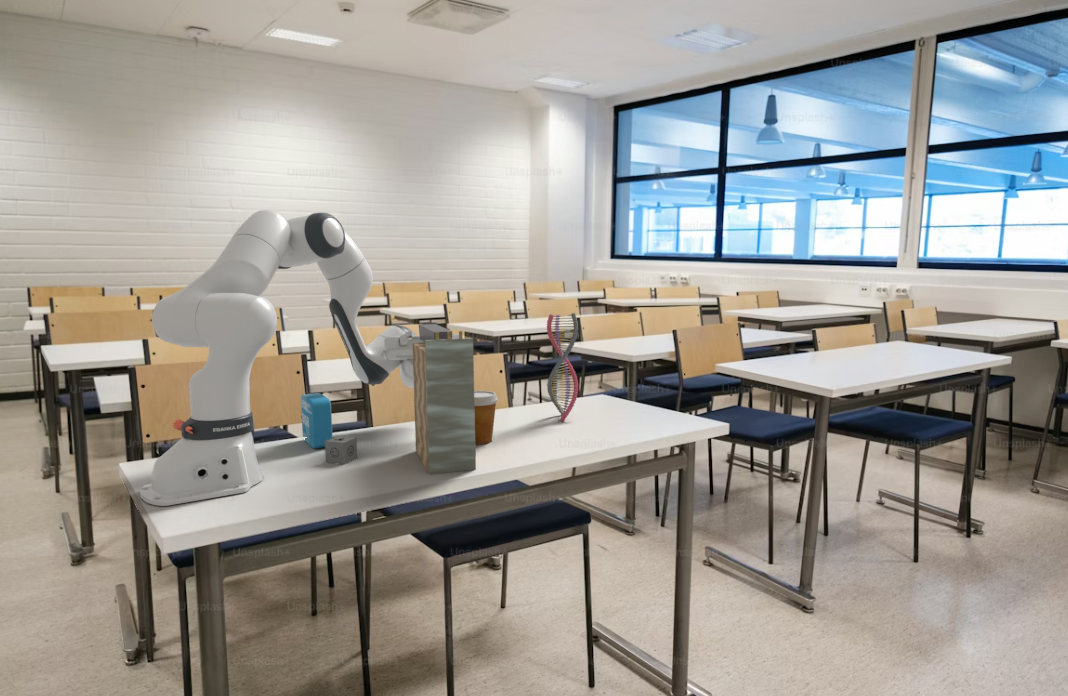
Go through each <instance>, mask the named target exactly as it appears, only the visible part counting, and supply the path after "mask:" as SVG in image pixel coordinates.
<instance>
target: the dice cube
mask: <svg viewBox="0 0 1068 696" xmlns="http://www.w3.org/2000/svg"><path fill="white" fill-rule="evenodd" d="M357 439H358V438H357V437H353V436H343V435H342V436H341V435H337V436H334V437H333V438H331V439H329V440H326V441H325V447H324V450H325V451H324V452H325V453H324V455H325V463H326V462H328V464H335V463H339V464H338V465H346V464H345V463H347V462H349V461H351V462H353V461H355V460H357V459H358V443H357V441H358V440H357ZM356 458H357V459H356ZM354 459H355V460H354ZM352 460H353V461H352ZM349 463H350V462H349ZM347 464H348V463H347Z"/></svg>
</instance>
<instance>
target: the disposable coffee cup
mask: <svg viewBox="0 0 1068 696" xmlns="http://www.w3.org/2000/svg"><path fill="white" fill-rule="evenodd" d="M498 399H499V398H498V397H497V394H496V392H494V391H489V390H488V391H487V390H474V407H475V445H484V444H489V443H491V442H492V441H493V434H494V425H495V423H494V422H495V416H496V415H495V414H496V406H497V403H498Z"/></svg>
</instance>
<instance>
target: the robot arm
mask: <svg viewBox="0 0 1068 696" xmlns="http://www.w3.org/2000/svg"><path fill="white" fill-rule="evenodd" d="M314 263H315V264H317V265H318V268H319V270H320V271H321V274H322V275H323V276H324V278H325V279H326V281H327V283H328V286H329V291H330V301H329V304H328V306H329V307H328V309H329V311H330V314H331V318H332V320H333V322H334V324H335V327H336V328H337V331H338V334H339V336H340V338H341V341H342V342H343V344H344V348H345V349H346V352H347V353H348V356H349V359H350V363H351V364H350V365H351V367H352V370H353V373H354V374H355V375H356V377H357V378H358V379H359V380H360V381H361V382H362V383H363V384H365V385H371V386H372V385H373V386H374V385H381V384H383V382H385V380H386V379H388V377H389V376H390V374H391V373H392V372H394V371H395V370H396V369H397V368H399V371H400V378H401V379H400V380H401V381H402V383H403V385H404V386H406V387H408V388H410V389H414V375H413V344H412V343H420V342H424V341H423V340H421V339H420V334H419V335H417V334H416V333H415V331H413V330H411V328H409V327H406V326H404V325H399V324H391V325H389V326H388V327H387V328H385V330H384V331H382V332H380V334H379V335H378V336H377V337H376V338H375V339H373V340H372V341H371V342H370V343H369V344H367V345H366V344H365V341H364V339H363V337H362V334H361V332H360V329H359V327H358V325H357V318H358V314H359V311H360V309H361V307H362V305H363V303H364V301H365V299H366V298H367V297H368V295H369V293H370V291H371V289H372V287H373V281H374V275H373V272H372V268H371V266H370V264H369V262H368V261H367V259H366V257H365V255H364V253H362V251H361V250H360V248H359V246H358V245H357V244H356V242H354V240H353V239H352V238H351V236H350V235H349V234H348V233H347V231H345V229H344V227H343V225H342V224H341V222H340V221H339V219H337V218H336V217H335V216H333V214H330V213H329V212H314V213H311V214H310V215H303V216H299V217H295V218H289V219H287V220H286V218H284V216H282V215H281V214H280V213H277V212H276V211H273V210H269V209H262V210H258V211H255V212H253V213H252V214H251V215H250V216H248V218H247V219H246V220H245V221H244V222H243V223H242V224H241V225H240V226H239V228H237V230H236V231H235V233H234V234H233V235H232V237H231V238H230V241H229V242H228V243H227V245H226V246H225V248H224V249H223V251H222V252H221V254H220V255H219V256H218V258H217V259H216V260H215V262H214V263H213V264H212V265H211V266H210V267H209V268H208V269H206V271H204V273H202V274H201V275H200V276H198V277H197V278H196V279H194V280H193V281H192V282H191V283H189V284H188V285H186V286H185V287H183V288H182V289H180V290H179V291H176V292H174V293H172V294H170V295H168V296H165V297H162V299H160V300H159V301H158V302H157V303H156V305H155V306H154V308H153V311H152V316H151V323H152V327H153V330H154V332H155V334H156V335H157V337H158V338H159V339H160V340H162V341H163V342H166V343H169V344H171V345H176V346H179V347H185V348H208V357H207V360H206V363H205V365H204V367H201V368H200V369H199V370H197V371H195V372H194V373H193V374H192V376H191V377H190V378H189V381H188V390H189V391H188V394H189V408H190V417H189V418H188V419H186V421H184V420H182V419H176V420H175V421H174V422H173V423H172V426H173V428H174V429H175V430H177V431H179V432H181V438H180V439H178V441H177V442H176V443H175V444H173V445H172V446H171V447H169V449H168V450H166V451H165V452H164V453H163V454H161V456H159V457H158V458H157V459H156V461H154V464H153V468H152V474H151V483H148V484H144V485H143V486H142V487H140V489H139V498H141V500H142V499H143V501H144V502H145V503H147V504H150V505H152V506H157V507H158V506H159V507H161V506H162V507H167V506H172V505H178V504H179V505H180V504H184V503H189V502H190V503H191V502H196V501H203V500H208V499H213V498H219V497H226V496H231V495H239V494H242V493H246V492H248V491H249V490H250V489H251V488H252V487H253V486H255V485H256V484H258V483H260V482H261V481H262V480H263V479H264V476H263V472H262V470H261V468H260V465H259V463H258V458H257V454H256V449H255V448H256V447H255V444H254V443H255V442H254V438H255V421H254V416H253V412H252V411H251V401H250V400H251V399H250V398H251V397H250V395H251V394H250V382H251V381H250V377H251V373H252V372H251V371H252V367H253V365H254V363H255V360H256V357H257V356H258V354H259V352H260V351H261V349H262V348H263V347H265V345H267V343H269V342H270V341H271V340H272V339H273V337H274V335H275V334H276V332H277V327H278V316H277V315H278V314H277V311H276V309H275V306H274V305H273V304H272V302H271V301H270V300H268V299H267V298H265V297H263V296H261V295H262V294H263V293H264V292H265V291H266V289H267V288H268V287H269V284H270V282H271V281H272V280H273V278H274V276H275V275H276V272H277V270H287V269H290V268H293V267H300V266H301V267H302V266H306V265H307V266H308V265H311V264H314ZM462 337H463V338H465V335H464V334H462ZM452 339H459V333H454V334H453V333H452Z"/></svg>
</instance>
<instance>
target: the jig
mask: <svg viewBox="0 0 1068 696" xmlns="http://www.w3.org/2000/svg"><path fill="white" fill-rule="evenodd" d="M435 334H436V340H425V342H420V343H412V344H413V375H414V388H413V398H414V399H413V402H414V429H415V431H414V435H415V436H414V437H415V452H416V454H417V455H418V457H419V459H420V461H421V462H422V464H423V465H424V467H425V469H426V470H427V473H428V474H429V475H435V474H446V473H454V472H465V471H473V470H477V468H476V467H477V463H476V462H477V461H476V460H477V459H476V458H477V457H476V444H475V407H474V391H475V370H474V368H475V366H474V364H475V363H474V362H475V361H474V360H475V359H474V338H472V337H466V338H465V337H464V338H463V337H462V335H463V330H459V331H458V334H459V339H451V332H447V339H439V332H435Z"/></svg>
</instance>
